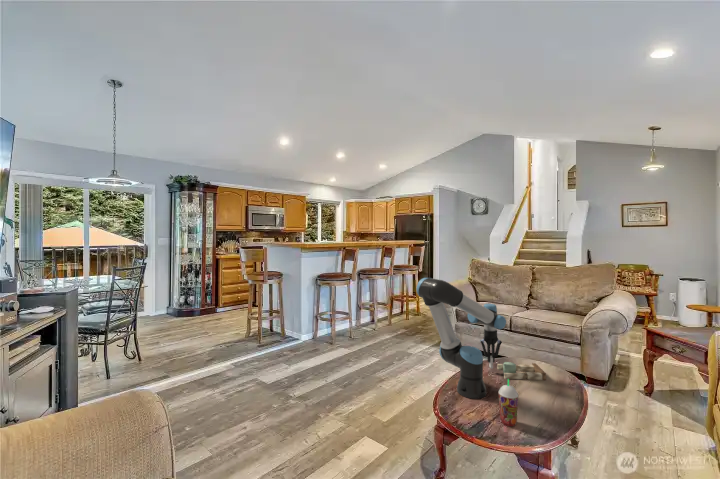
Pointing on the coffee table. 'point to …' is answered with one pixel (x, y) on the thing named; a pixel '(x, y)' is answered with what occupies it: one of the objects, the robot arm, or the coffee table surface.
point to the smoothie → (508, 404)
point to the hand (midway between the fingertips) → (491, 367)
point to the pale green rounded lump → (509, 367)
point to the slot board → (531, 370)
